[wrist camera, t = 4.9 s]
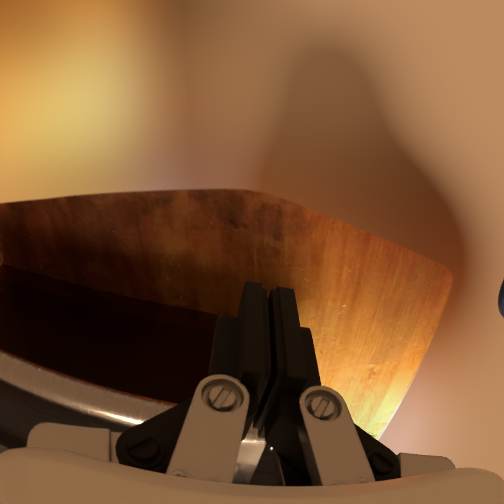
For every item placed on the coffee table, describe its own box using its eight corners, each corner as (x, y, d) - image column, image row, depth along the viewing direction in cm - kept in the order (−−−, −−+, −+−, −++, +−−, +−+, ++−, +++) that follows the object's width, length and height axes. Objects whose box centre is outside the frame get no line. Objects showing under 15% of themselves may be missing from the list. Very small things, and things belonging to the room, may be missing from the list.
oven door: (1, 223, 34) (-140, 293, 10) (293, 280, 38) (363, 462, 13) (3, 273, 36) (-117, 364, 12) (278, 335, 40) (315, 522, 15)
